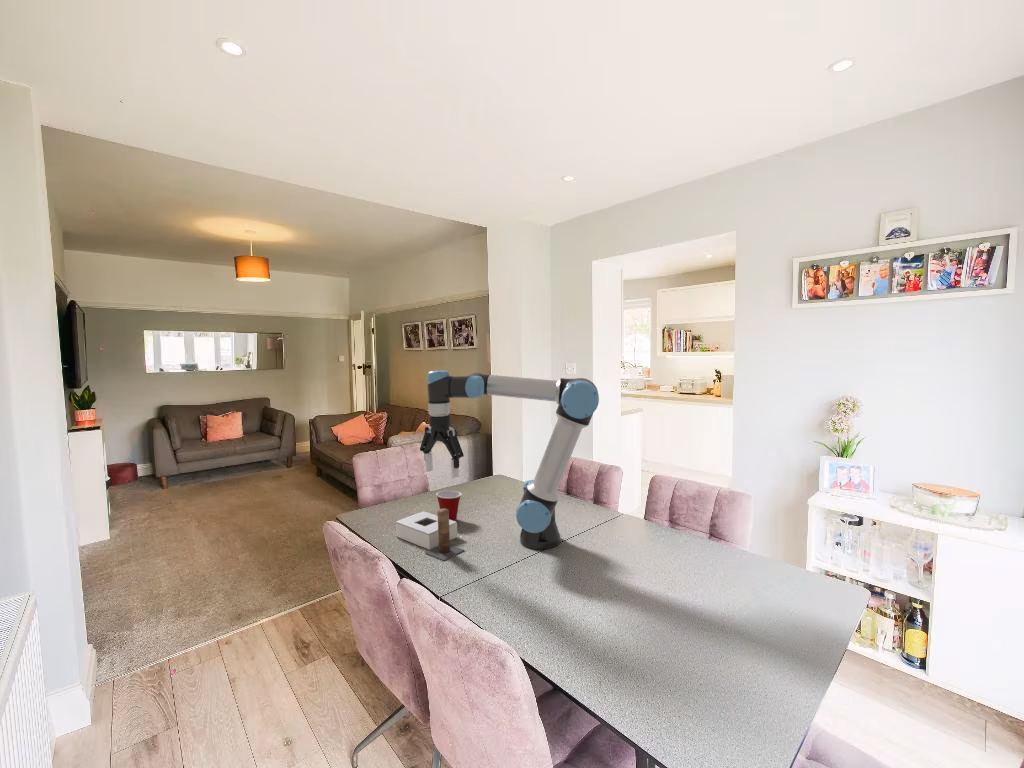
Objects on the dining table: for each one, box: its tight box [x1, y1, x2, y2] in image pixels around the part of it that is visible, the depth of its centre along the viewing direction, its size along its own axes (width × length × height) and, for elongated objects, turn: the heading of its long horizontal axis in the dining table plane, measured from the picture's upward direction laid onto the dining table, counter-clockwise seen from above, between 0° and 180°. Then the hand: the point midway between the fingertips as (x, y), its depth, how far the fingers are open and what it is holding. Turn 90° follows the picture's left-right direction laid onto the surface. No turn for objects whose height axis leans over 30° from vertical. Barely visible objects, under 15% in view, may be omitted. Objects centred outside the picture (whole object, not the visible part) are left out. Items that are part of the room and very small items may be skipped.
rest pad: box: [424, 544, 466, 562], centre depth 169 cm, size 10×10×1 cm
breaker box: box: [394, 510, 458, 551], centre depth 182 cm, size 20×14×6 cm
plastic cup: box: [435, 490, 463, 522], centre depth 198 cm, size 11×11×12 cm
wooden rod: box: [437, 508, 451, 554], centre depth 168 cm, size 4×4×15 cm
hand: (441, 474), depth 166 cm, fingers open, 13 cm apart
